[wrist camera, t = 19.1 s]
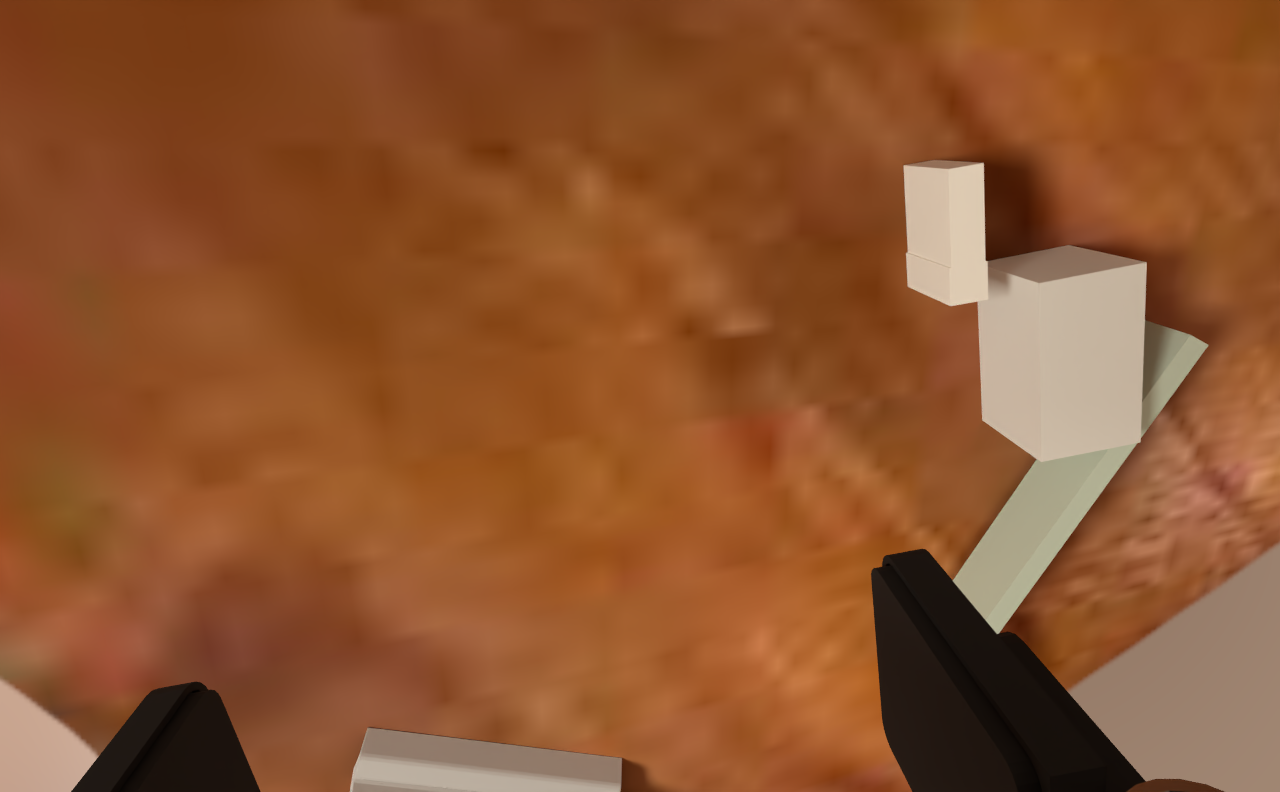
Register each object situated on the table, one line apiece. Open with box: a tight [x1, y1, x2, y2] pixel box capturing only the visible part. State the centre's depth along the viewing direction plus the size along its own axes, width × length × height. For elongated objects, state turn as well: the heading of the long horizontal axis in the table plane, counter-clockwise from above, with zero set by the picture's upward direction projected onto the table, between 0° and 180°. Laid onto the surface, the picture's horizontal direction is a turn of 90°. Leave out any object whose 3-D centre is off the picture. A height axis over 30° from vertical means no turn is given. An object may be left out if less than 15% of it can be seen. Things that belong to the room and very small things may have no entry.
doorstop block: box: [978, 245, 1147, 462], centre depth 39 cm, size 9×5×6 cm, turn 10°
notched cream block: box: [904, 160, 988, 306], centre depth 42 cm, size 33×2×5 cm, turn 9°
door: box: [953, 320, 1208, 634], centre depth 42 cm, size 20×2×5 cm, turn 153°
